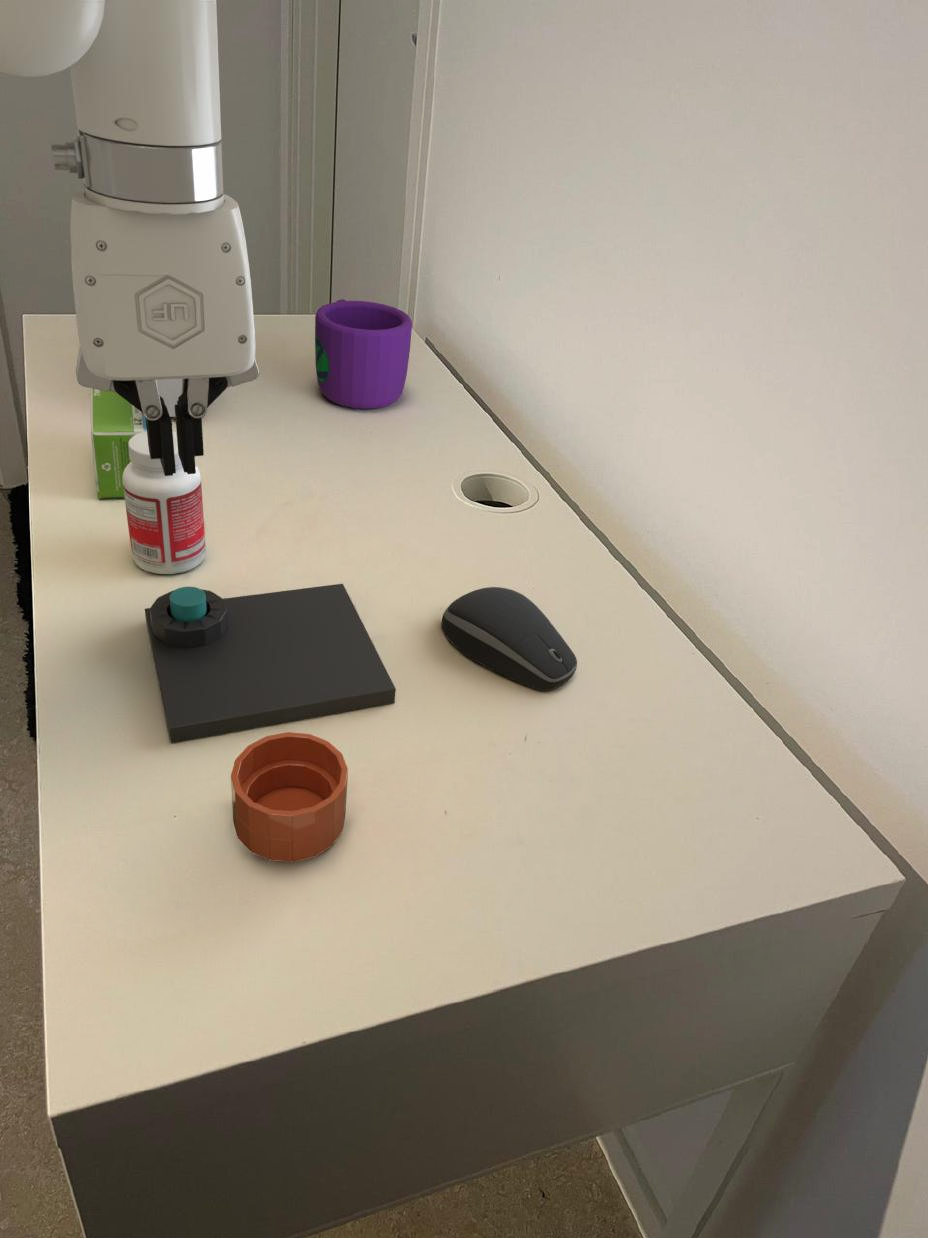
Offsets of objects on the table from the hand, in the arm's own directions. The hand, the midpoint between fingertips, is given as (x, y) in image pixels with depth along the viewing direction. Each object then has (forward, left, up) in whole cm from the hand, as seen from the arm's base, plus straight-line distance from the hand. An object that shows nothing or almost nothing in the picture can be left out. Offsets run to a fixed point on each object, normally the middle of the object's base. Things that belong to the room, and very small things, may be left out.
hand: (177, 464), depth 61 cm
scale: (+5, -4, -15) cm, 16 cm away
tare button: (0, 0, -13) cm, 13 cm away
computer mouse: (+24, -7, -15) cm, 29 cm away
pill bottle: (0, +12, -15) cm, 19 cm away
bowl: (+3, -20, -15) cm, 25 cm away
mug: (+27, +47, -15) cm, 56 cm away
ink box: (-2, +28, -15) cm, 32 cm away
